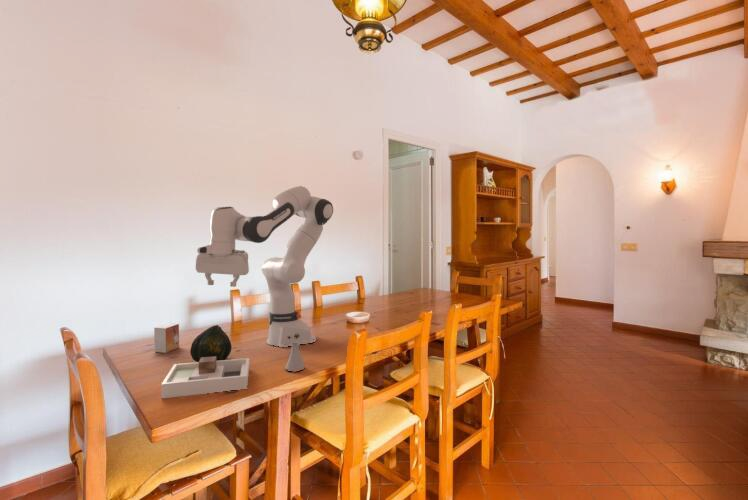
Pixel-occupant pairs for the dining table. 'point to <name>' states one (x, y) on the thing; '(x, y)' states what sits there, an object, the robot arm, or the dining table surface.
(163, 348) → the small box
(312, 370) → the dining table surface
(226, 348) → the squash
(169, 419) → the dining table surface
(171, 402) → the dining table surface
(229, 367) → the track
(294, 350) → the flask
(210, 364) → the walnut block
